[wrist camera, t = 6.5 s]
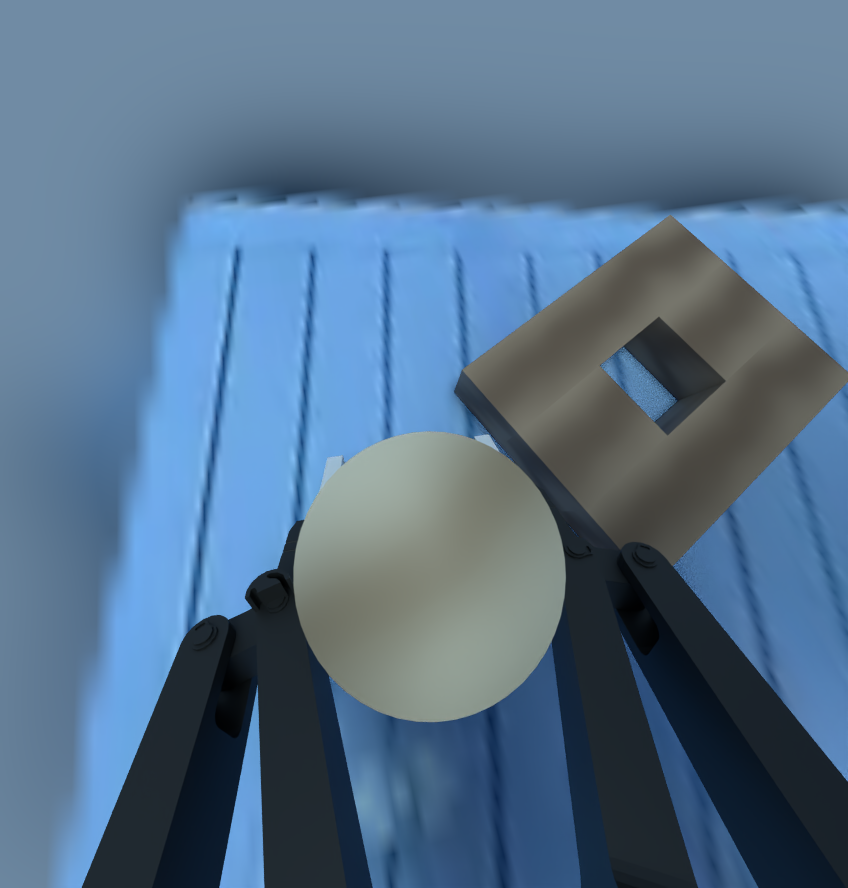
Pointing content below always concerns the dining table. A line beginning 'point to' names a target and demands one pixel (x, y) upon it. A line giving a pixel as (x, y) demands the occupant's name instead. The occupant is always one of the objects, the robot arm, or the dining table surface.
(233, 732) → the robot arm
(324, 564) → the ash peg
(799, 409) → the walnut board
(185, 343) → the dining table surface
